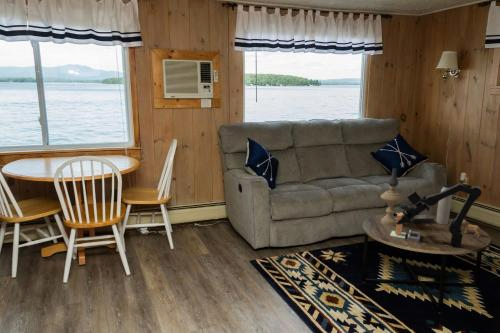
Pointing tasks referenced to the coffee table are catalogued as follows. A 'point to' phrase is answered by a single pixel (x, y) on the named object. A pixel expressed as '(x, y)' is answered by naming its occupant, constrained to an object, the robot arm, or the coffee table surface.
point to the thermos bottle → (444, 208)
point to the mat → (398, 235)
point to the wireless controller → (422, 218)
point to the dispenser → (412, 234)
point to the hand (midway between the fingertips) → (397, 222)
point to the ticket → (399, 227)
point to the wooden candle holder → (391, 200)
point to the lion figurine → (470, 227)
